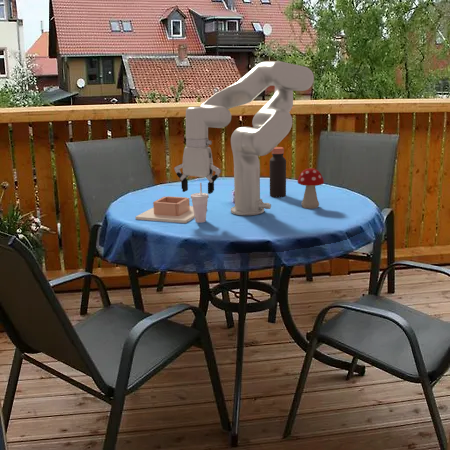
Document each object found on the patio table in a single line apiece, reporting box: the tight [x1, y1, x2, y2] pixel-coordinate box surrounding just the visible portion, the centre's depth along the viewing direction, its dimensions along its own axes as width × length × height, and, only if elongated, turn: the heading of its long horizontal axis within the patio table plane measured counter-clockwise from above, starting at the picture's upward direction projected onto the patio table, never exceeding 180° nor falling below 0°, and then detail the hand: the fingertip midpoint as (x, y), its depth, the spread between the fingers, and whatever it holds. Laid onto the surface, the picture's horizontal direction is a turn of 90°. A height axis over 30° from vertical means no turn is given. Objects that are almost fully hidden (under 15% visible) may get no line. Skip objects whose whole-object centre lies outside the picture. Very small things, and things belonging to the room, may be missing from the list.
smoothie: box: [190, 182, 209, 223], centre depth 212 cm, size 6×6×14 cm
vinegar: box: [269, 146, 287, 198], centre depth 246 cm, size 7×7×20 cm
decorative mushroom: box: [297, 167, 325, 210], centre depth 227 cm, size 10×9×15 cm
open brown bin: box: [135, 196, 195, 224], centre depth 223 cm, size 20×20×6 cm
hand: (197, 192), depth 211 cm, fingers open, 9 cm apart
